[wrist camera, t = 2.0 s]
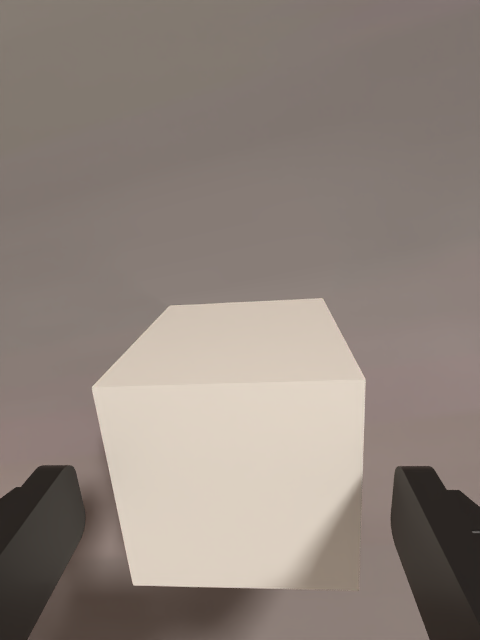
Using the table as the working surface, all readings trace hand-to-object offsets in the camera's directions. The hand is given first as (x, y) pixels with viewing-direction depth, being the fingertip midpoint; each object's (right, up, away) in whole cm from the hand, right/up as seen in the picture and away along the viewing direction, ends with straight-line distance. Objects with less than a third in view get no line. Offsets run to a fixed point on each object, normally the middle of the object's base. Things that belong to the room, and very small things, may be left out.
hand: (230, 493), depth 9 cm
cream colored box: (+1, +2, +8) cm, 9 cm away
